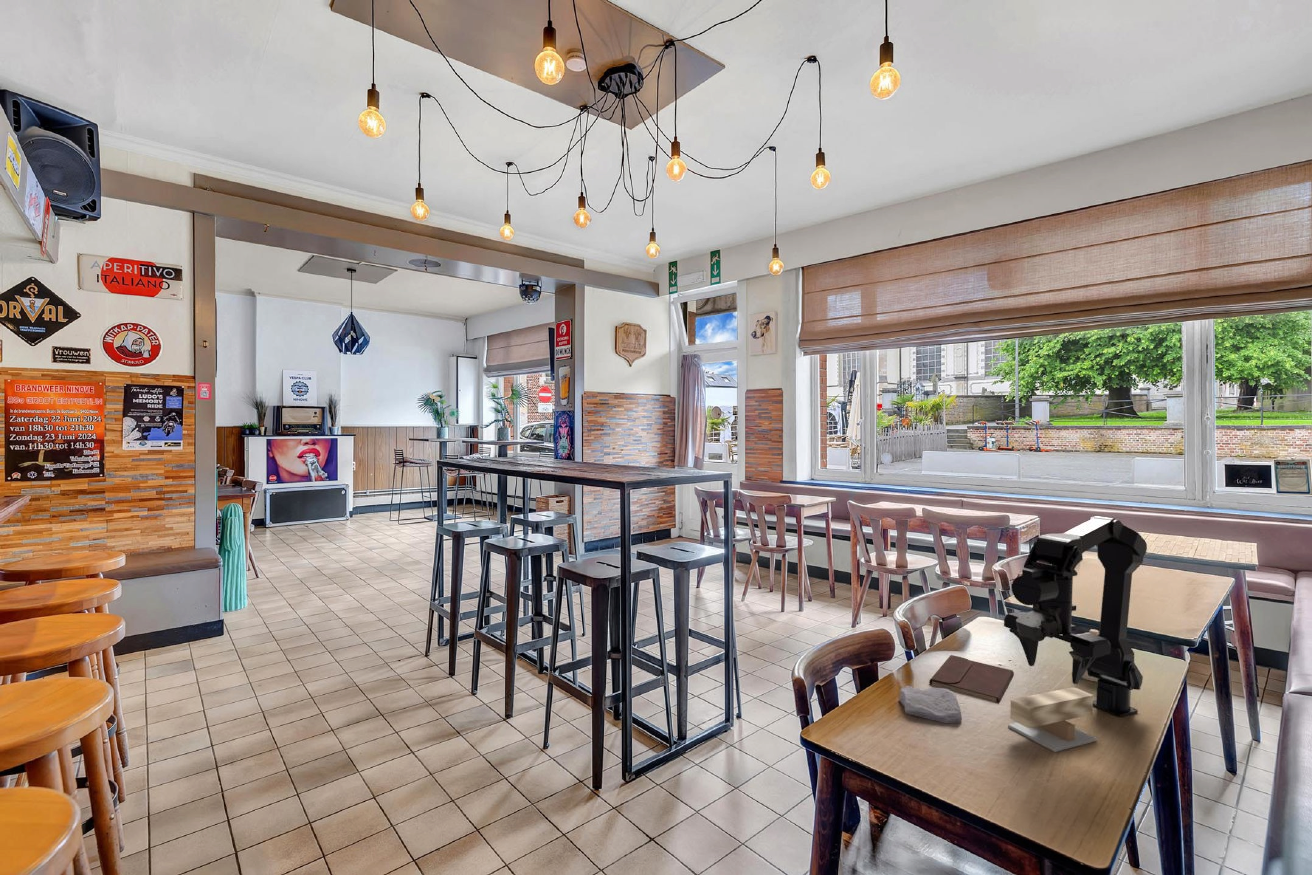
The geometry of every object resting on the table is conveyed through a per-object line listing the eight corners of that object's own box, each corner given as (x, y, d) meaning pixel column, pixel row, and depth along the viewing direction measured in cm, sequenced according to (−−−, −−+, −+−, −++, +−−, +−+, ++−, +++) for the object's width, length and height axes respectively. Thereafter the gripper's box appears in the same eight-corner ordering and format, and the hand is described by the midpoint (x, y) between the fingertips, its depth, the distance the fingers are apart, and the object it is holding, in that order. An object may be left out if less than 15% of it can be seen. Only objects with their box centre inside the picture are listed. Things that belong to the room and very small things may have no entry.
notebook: (1013, 676, 152) (1013, 668, 152) (999, 704, 137) (999, 695, 137) (949, 661, 162) (949, 653, 162) (929, 685, 146) (929, 677, 146)
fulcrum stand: (1048, 717, 130) (1048, 701, 130) (1096, 740, 121) (1096, 722, 121) (1008, 727, 126) (1008, 710, 126) (1054, 751, 116) (1055, 733, 116)
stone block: (965, 733, 127) (954, 703, 136) (966, 713, 126) (954, 684, 135) (905, 728, 130) (898, 698, 139) (905, 708, 129) (898, 680, 138)
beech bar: (1073, 705, 128) (1074, 686, 128) (1092, 714, 124) (1093, 695, 124) (1010, 718, 122) (1010, 699, 122) (1028, 728, 118) (1028, 708, 118)
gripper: (986, 589, 128) (984, 662, 129) (1074, 616, 111) (1071, 700, 111) (1023, 585, 132) (1021, 655, 133) (1114, 610, 115) (1111, 691, 115)
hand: (1052, 674), depth 123 cm, fingers open, 9 cm apart
